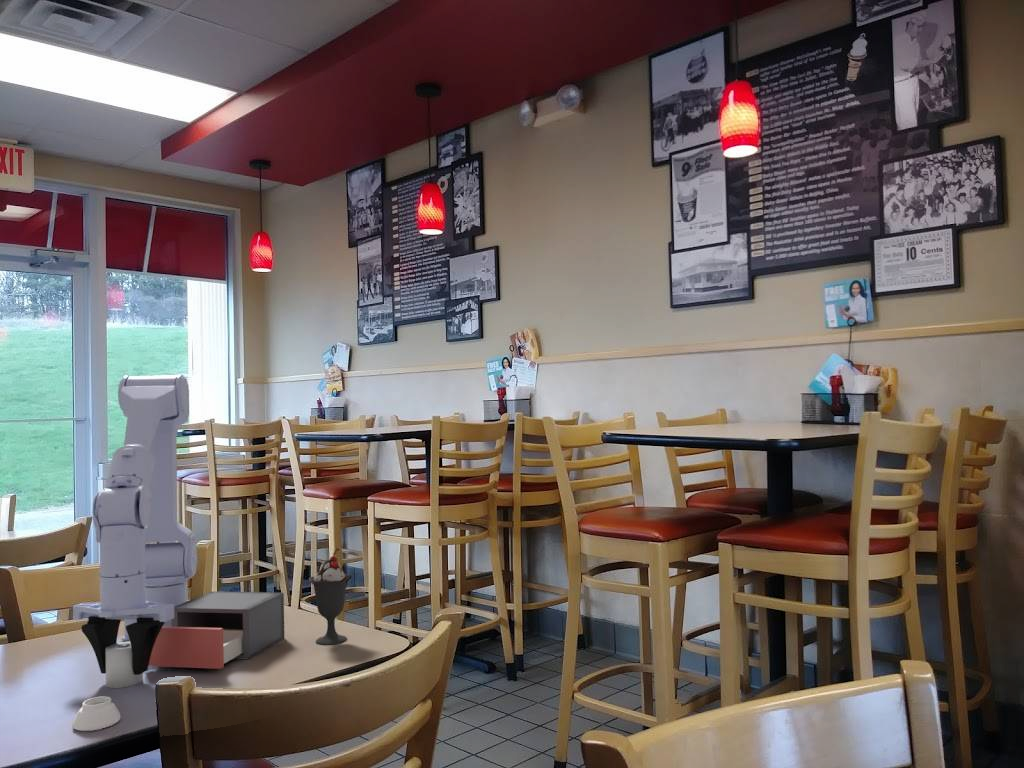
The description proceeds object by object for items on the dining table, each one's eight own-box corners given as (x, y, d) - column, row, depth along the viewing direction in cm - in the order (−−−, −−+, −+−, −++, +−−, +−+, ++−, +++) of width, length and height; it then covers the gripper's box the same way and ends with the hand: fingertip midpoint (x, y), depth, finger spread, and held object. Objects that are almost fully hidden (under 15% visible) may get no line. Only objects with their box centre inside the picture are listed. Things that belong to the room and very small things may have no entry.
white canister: (98, 687, 109) (97, 649, 109) (121, 676, 113) (120, 639, 114) (128, 688, 108) (127, 650, 108) (149, 677, 112) (149, 640, 113)
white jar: (121, 727, 95) (118, 714, 99) (121, 702, 95) (118, 690, 99) (74, 737, 92) (72, 723, 96) (73, 711, 92) (72, 699, 97)
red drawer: (145, 665, 115) (144, 627, 115) (189, 644, 126) (188, 609, 126) (220, 668, 113) (220, 629, 113) (258, 646, 123) (258, 610, 123)
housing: (172, 656, 122) (171, 607, 122) (212, 636, 133) (211, 591, 133) (249, 659, 120) (248, 609, 120) (284, 638, 130) (283, 592, 131)
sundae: (347, 646, 125) (345, 549, 125) (305, 647, 125) (303, 551, 125) (356, 634, 131) (354, 542, 132) (316, 635, 132) (314, 544, 132)
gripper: (56, 578, 109) (57, 679, 108) (150, 580, 106) (152, 683, 105) (93, 568, 116) (94, 663, 115) (182, 569, 113) (184, 666, 112)
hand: (124, 671), depth 111 cm, fingers closed on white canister, 5 cm apart
